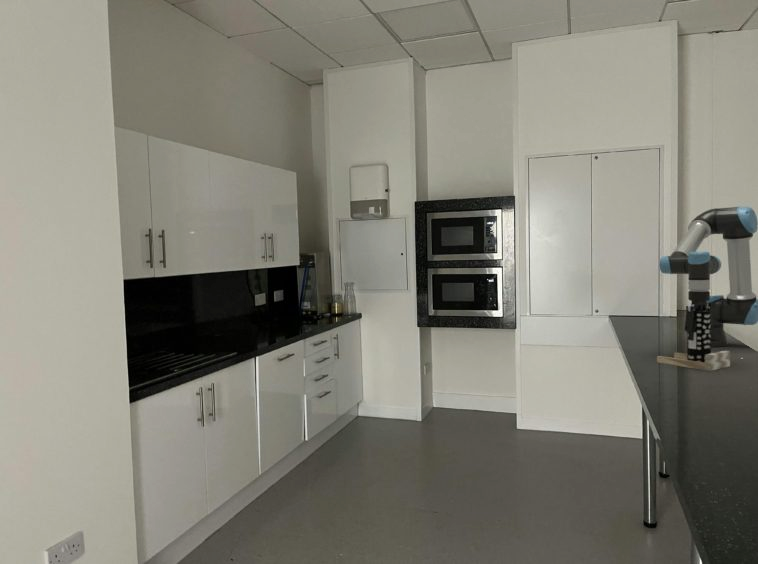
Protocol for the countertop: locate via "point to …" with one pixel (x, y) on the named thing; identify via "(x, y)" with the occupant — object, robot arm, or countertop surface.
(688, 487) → the countertop surface
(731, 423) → the countertop surface
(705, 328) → the white-spotted black cylinder
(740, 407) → the countertop surface
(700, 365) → the guide channel
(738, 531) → the countertop surface
